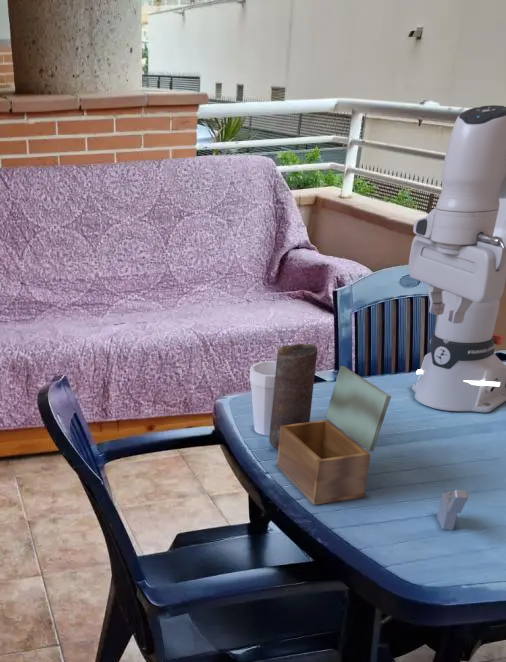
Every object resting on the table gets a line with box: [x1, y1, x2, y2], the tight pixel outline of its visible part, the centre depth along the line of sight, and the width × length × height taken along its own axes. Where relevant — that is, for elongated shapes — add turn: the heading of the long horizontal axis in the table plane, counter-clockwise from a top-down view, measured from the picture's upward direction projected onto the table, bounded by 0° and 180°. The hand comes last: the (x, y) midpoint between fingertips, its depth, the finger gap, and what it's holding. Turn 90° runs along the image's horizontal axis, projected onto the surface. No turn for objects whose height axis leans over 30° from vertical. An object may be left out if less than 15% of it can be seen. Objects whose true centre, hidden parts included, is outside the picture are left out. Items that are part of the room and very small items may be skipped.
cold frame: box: [276, 419, 371, 506], centre depth 131 cm, size 9×16×8 cm, turn 12°
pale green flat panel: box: [325, 365, 392, 453], centre depth 127 cm, size 10×16×1 cm
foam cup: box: [249, 360, 277, 437], centre depth 150 cm, size 10×9×13 cm
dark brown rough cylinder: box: [268, 343, 318, 450], centre depth 141 cm, size 8×7×20 cm
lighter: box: [436, 489, 469, 531], centre depth 116 cm, size 7×2×8 cm, turn 171°
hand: (445, 318), depth 122 cm, fingers open, 4 cm apart
